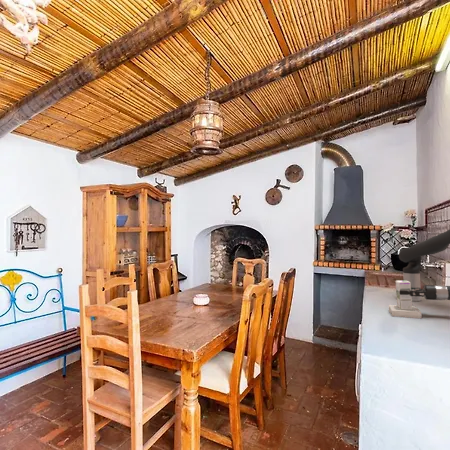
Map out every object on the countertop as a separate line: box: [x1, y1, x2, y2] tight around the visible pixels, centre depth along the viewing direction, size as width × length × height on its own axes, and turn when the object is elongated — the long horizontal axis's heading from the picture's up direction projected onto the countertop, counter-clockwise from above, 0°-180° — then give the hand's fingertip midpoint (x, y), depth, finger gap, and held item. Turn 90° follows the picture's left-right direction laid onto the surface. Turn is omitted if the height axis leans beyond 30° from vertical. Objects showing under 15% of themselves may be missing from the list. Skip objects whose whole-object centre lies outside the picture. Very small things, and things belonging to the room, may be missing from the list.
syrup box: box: [395, 280, 413, 310], centre depth 159 cm, size 6×6×14 cm
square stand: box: [388, 304, 423, 319], centre depth 159 cm, size 13×13×3 cm
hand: (398, 291), depth 160 cm, fingers closed on syrup box, 6 cm apart
